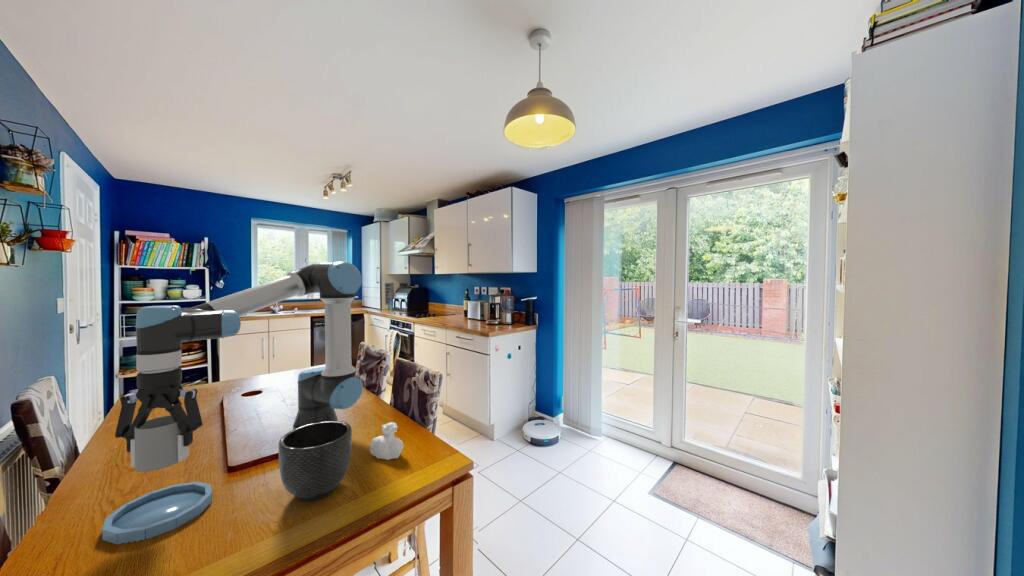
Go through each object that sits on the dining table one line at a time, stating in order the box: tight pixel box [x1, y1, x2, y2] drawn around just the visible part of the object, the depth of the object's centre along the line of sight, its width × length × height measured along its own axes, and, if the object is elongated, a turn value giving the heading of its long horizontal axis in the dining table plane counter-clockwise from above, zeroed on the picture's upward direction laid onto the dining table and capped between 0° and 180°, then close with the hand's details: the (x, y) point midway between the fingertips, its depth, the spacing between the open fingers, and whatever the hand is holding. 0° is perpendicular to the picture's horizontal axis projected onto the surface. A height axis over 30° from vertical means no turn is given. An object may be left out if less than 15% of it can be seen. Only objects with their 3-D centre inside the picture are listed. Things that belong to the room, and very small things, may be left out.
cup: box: [134, 415, 181, 473], centre depth 81 cm, size 8×8×10 cm
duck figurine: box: [369, 421, 404, 461], centre depth 110 cm, size 12×8×11 cm
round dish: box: [101, 481, 213, 545], centre depth 81 cm, size 18×18×2 cm
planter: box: [278, 420, 353, 503], centre depth 90 cm, size 17×17×16 cm
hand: (160, 461), depth 81 cm, fingers closed on cup, 8 cm apart
